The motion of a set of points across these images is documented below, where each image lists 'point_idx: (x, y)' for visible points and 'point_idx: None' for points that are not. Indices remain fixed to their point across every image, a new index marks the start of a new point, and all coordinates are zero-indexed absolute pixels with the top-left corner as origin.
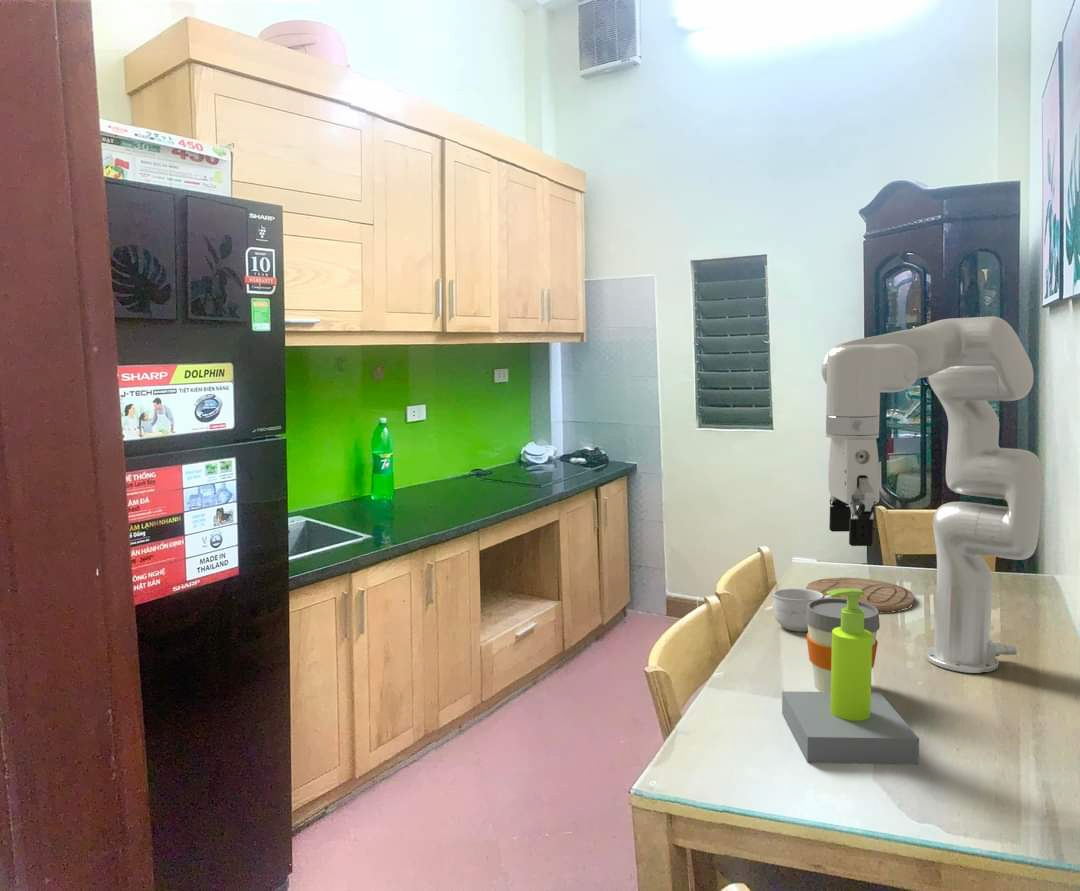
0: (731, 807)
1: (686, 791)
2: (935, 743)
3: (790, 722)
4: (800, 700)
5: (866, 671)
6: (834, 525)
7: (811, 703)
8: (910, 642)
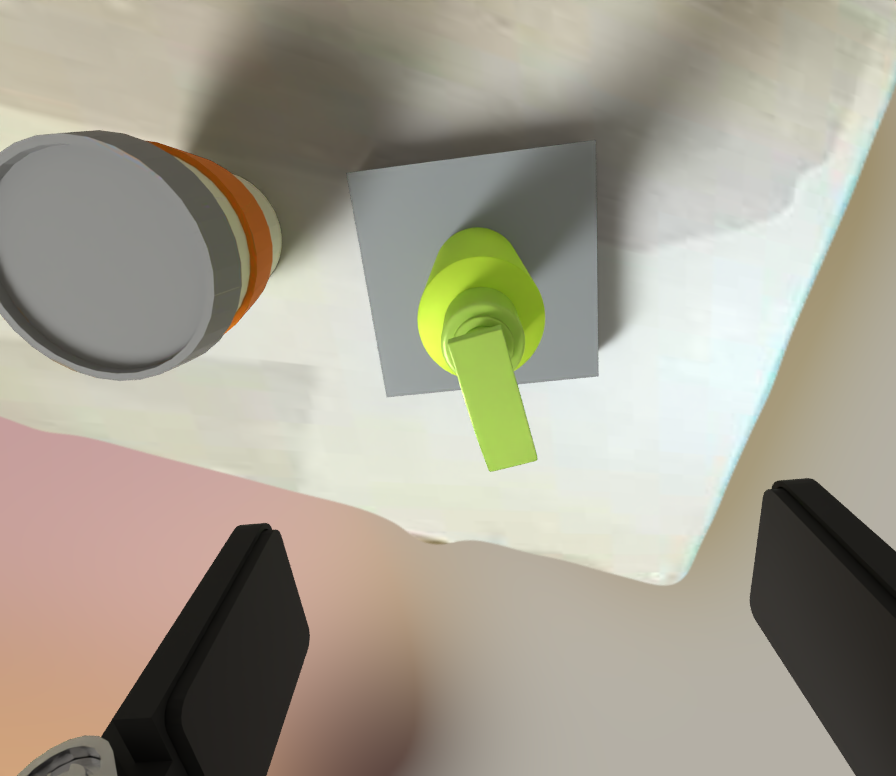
0: (727, 482)
1: (681, 536)
2: (481, 70)
3: None
4: (428, 366)
5: (523, 264)
6: (292, 659)
7: None
8: None
